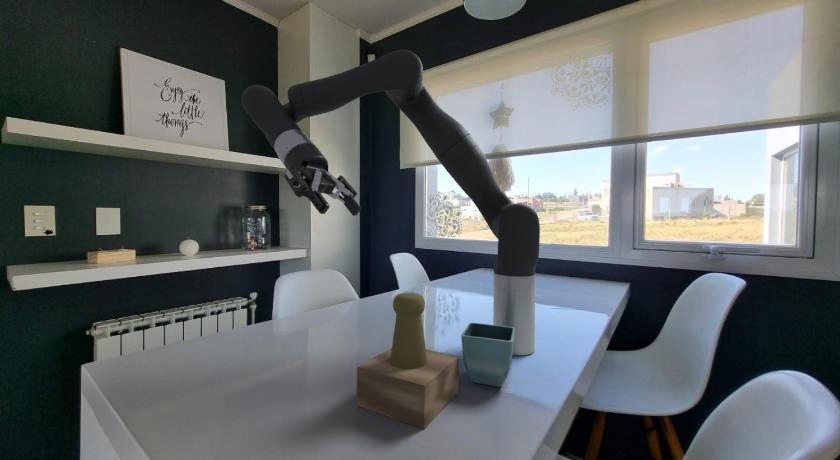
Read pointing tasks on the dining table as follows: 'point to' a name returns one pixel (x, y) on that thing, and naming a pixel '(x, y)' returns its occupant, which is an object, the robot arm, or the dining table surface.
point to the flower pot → (487, 352)
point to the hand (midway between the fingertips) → (342, 211)
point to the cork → (408, 332)
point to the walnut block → (408, 387)
